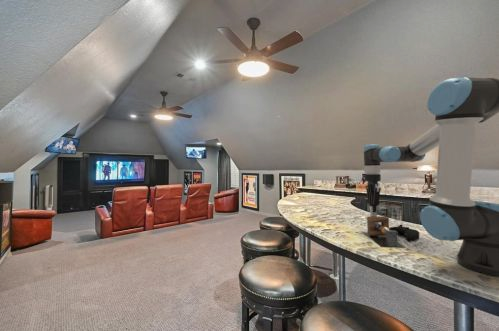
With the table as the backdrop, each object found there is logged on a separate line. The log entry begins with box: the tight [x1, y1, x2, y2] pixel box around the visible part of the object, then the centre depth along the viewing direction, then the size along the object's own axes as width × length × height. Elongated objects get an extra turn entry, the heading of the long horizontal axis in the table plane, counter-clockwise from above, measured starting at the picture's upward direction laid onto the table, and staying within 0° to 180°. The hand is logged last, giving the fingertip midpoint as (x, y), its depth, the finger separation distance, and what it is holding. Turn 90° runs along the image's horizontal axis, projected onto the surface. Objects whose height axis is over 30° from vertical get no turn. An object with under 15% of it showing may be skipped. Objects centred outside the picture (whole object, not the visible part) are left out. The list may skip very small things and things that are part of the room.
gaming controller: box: [389, 224, 420, 242], centre depth 112 cm, size 14×6×10 cm
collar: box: [366, 216, 390, 236], centre depth 112 cm, size 3×9×9 cm, turn 83°
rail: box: [362, 222, 406, 249], centre depth 108 cm, size 21×10×7 cm, turn 173°
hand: (373, 217), depth 116 cm, fingers closed
